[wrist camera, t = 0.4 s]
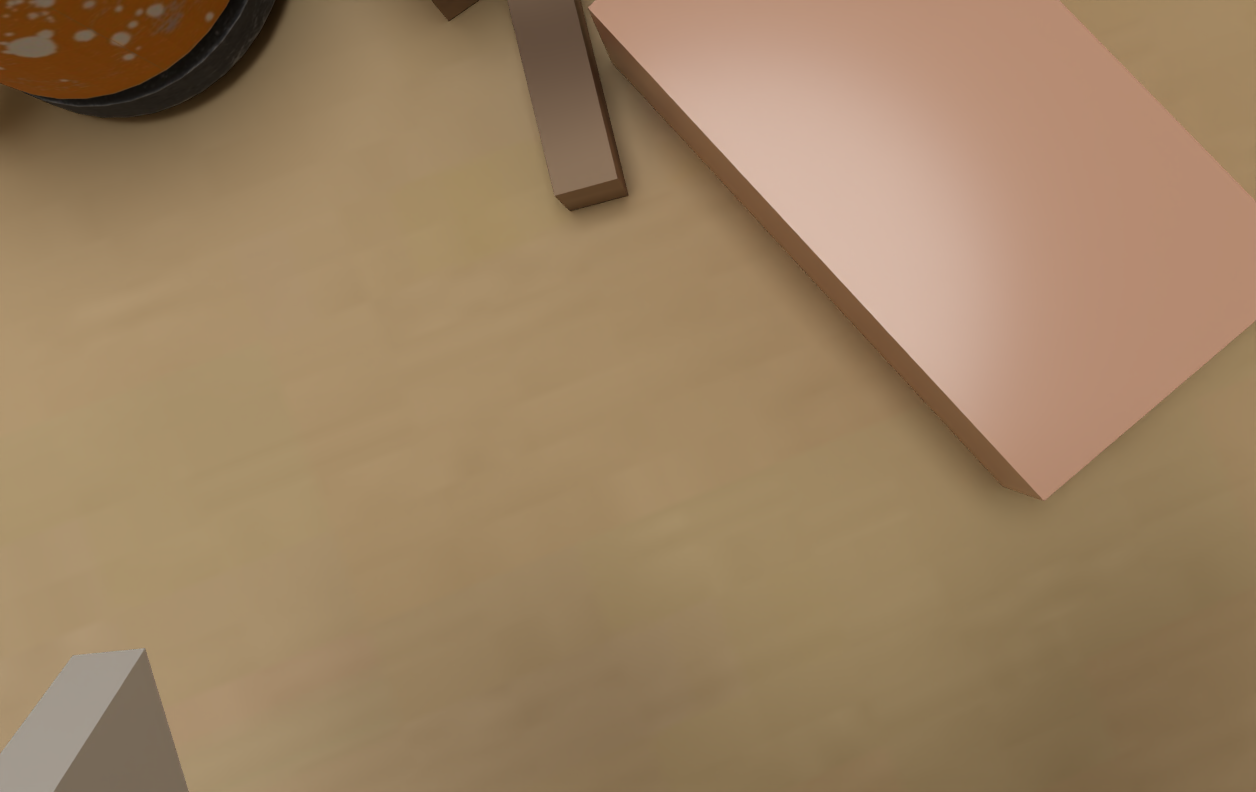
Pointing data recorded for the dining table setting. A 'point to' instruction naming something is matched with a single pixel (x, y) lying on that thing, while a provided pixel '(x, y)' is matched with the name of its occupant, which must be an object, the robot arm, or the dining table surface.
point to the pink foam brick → (966, 201)
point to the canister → (123, 50)
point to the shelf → (564, 98)
